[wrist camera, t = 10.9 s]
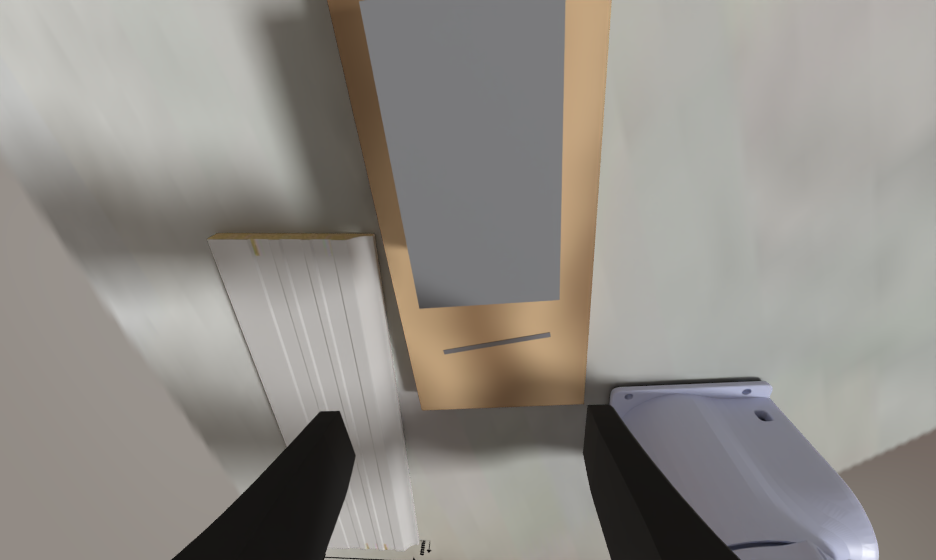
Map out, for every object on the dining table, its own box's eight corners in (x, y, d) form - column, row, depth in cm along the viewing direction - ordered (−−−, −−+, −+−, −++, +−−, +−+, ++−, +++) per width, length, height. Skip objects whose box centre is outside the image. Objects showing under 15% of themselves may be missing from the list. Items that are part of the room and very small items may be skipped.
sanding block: (538, 10, 13) (566, -28, 8) (540, 244, 17) (559, 299, 13) (401, 28, 13) (358, 0, 9) (436, 252, 18) (419, 308, 13)
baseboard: (404, 229, 19) (223, 228, 20) (392, 251, 17) (185, 250, 17) (435, 535, 34) (330, 530, 34) (431, 570, 31) (318, 565, 32)
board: (604, -69, 13) (618, -87, 12) (578, 386, 23) (583, 404, 22) (333, -29, 14) (317, -41, 12) (425, 392, 24) (422, 410, 23)
